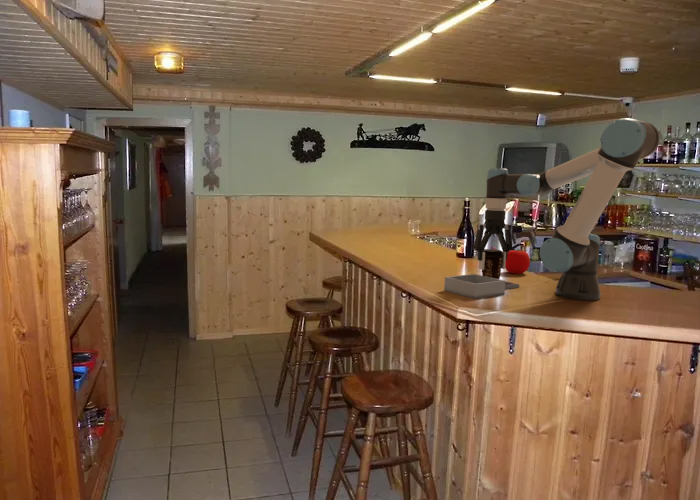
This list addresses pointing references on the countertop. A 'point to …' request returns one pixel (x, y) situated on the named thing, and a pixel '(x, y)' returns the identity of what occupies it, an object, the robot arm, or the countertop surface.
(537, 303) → the countertop surface
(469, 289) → the bin
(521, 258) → the tomato
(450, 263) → the countertop surface
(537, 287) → the countertop surface
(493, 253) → the coffee cup
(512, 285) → the collar
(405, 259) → the countertop surface
